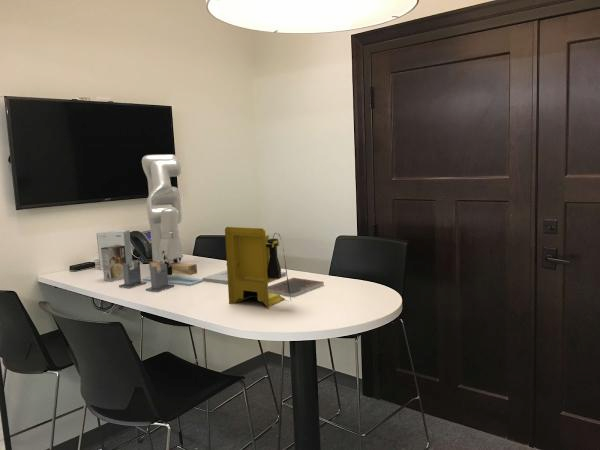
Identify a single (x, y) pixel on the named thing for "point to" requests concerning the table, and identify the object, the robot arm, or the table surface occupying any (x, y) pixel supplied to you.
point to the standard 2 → (159, 279)
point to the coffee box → (113, 262)
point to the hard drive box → (115, 243)
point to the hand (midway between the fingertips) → (172, 273)
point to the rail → (177, 267)
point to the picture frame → (294, 287)
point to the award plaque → (224, 277)
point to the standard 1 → (132, 276)
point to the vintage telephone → (251, 265)
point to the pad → (180, 280)
